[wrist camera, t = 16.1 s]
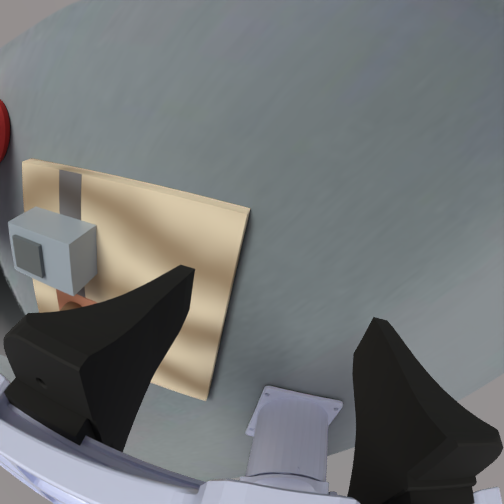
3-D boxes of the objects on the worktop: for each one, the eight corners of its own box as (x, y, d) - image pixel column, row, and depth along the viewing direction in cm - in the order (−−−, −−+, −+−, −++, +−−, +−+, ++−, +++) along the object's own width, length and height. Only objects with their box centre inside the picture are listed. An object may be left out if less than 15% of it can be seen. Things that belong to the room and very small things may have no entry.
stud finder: (97, 273, 25) (70, 299, 21) (39, 251, 25) (12, 271, 22) (96, 224, 23) (65, 247, 19) (35, 206, 23) (4, 223, 20)
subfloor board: (209, 392, 31) (205, 401, 30) (50, 328, 32) (44, 335, 31) (250, 208, 22) (246, 214, 21) (31, 158, 23) (21, 162, 22)
